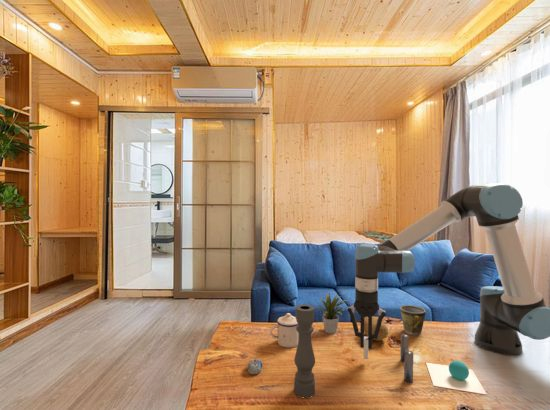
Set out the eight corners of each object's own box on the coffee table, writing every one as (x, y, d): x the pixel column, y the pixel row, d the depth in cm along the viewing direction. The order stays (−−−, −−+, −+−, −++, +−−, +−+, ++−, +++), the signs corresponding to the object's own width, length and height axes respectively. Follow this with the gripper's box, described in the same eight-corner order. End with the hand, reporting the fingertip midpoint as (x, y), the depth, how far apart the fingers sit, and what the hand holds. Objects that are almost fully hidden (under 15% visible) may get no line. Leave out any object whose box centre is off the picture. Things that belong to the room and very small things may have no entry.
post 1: (408, 359, 109) (408, 334, 109) (408, 363, 107) (409, 337, 107) (400, 358, 110) (400, 333, 110) (400, 362, 107) (401, 336, 107)
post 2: (412, 379, 97) (412, 350, 97) (413, 383, 95) (413, 354, 95) (403, 377, 98) (403, 349, 98) (404, 382, 95) (404, 353, 95)
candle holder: (292, 385, 93) (293, 304, 93) (312, 384, 94) (313, 303, 93) (295, 398, 87) (296, 311, 87) (317, 397, 88) (317, 311, 87)
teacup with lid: (295, 336, 127) (296, 308, 127) (302, 346, 118) (303, 317, 118) (267, 339, 124) (267, 311, 124) (272, 350, 116) (272, 319, 115)
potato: (378, 330, 134) (379, 312, 134) (393, 345, 120) (394, 325, 120) (357, 331, 133) (357, 313, 133) (369, 346, 119) (369, 326, 119)
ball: (467, 360, 99) (448, 355, 101) (472, 369, 94) (452, 363, 95) (464, 376, 99) (445, 370, 101) (469, 386, 94) (449, 380, 96)
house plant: (340, 342, 122) (340, 301, 122) (308, 334, 129) (309, 296, 129) (351, 330, 134) (351, 292, 134) (322, 323, 141) (322, 288, 141)
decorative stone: (248, 360, 106) (261, 355, 105) (252, 372, 105) (265, 367, 104) (242, 365, 100) (256, 360, 99) (246, 379, 98) (260, 373, 98)
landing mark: (471, 369, 103) (471, 369, 103) (486, 395, 89) (486, 394, 89) (425, 363, 107) (425, 362, 107) (433, 386, 93) (433, 385, 93)
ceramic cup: (397, 326, 138) (397, 304, 138) (420, 327, 137) (421, 305, 137) (405, 339, 125) (405, 315, 125) (431, 341, 124) (431, 316, 124)
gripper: (346, 290, 104) (345, 359, 105) (387, 294, 100) (386, 365, 101) (348, 284, 111) (347, 349, 112) (386, 288, 108) (385, 354, 108)
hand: (365, 356), depth 106 cm, fingers closed
